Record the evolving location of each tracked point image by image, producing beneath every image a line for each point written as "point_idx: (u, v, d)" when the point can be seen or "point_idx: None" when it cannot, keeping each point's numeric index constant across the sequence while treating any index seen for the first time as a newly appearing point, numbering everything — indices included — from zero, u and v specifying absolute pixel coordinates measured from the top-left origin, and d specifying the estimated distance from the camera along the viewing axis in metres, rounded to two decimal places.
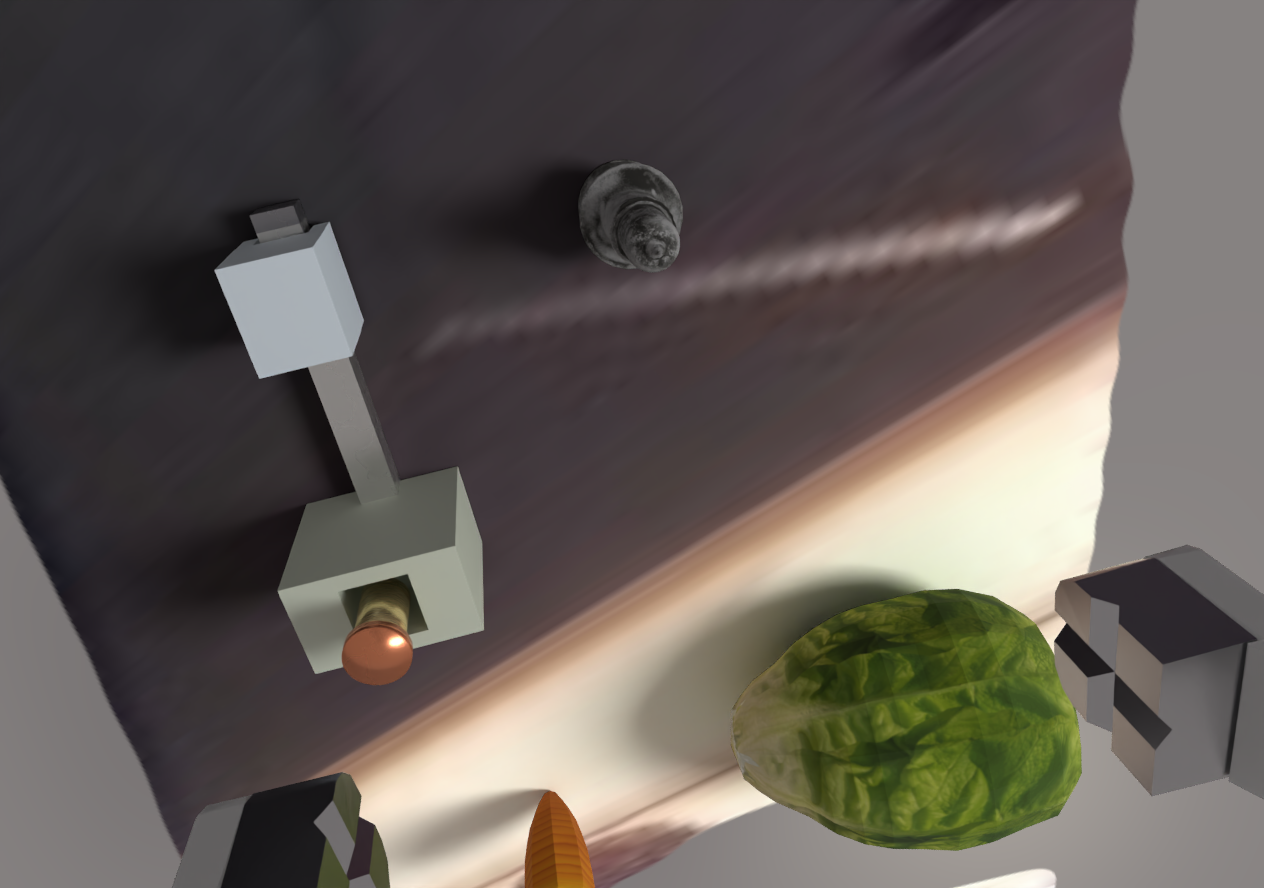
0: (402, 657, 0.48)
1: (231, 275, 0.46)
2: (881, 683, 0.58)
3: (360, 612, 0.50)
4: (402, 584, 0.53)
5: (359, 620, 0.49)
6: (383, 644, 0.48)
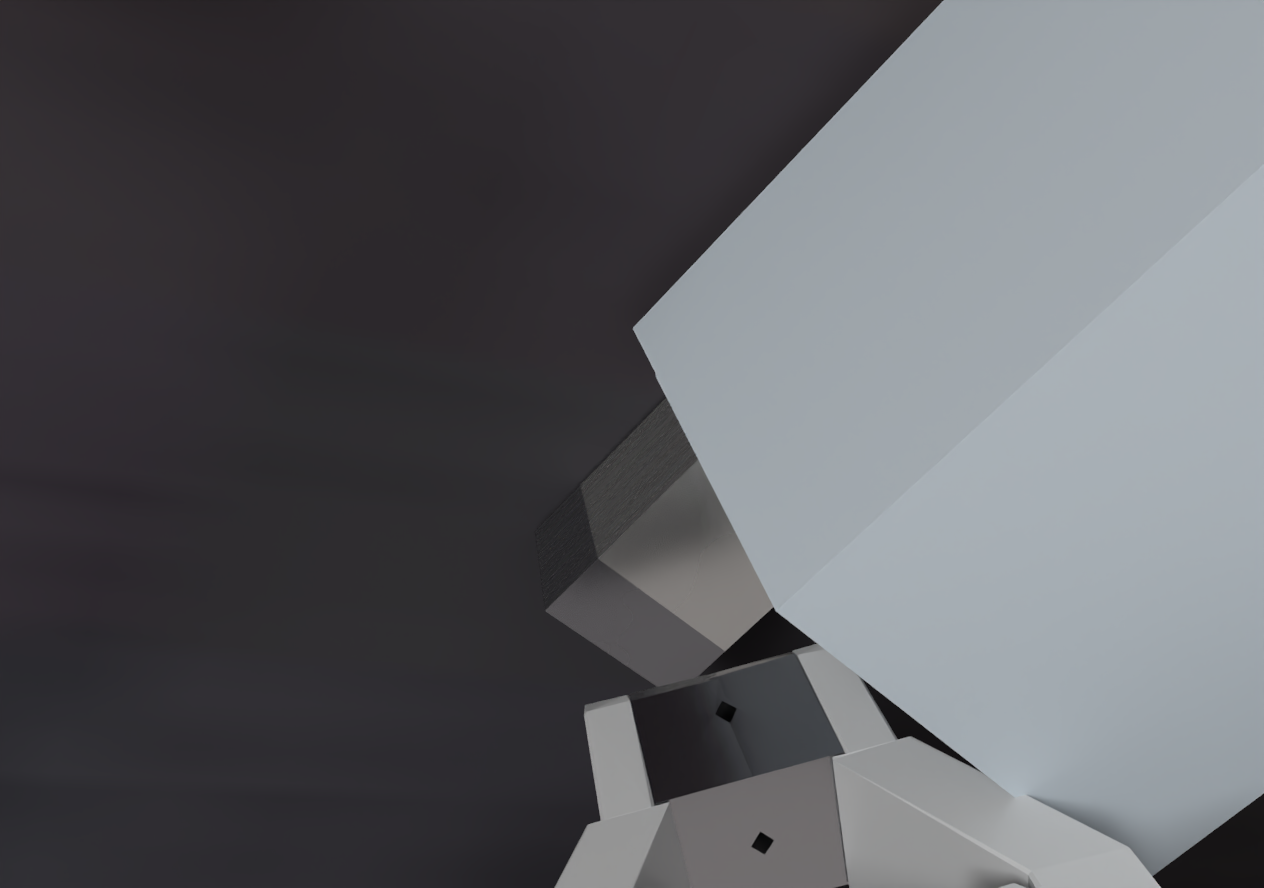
0: None
1: (1135, 828, 0.08)
2: None
3: None
4: None
5: None
6: None
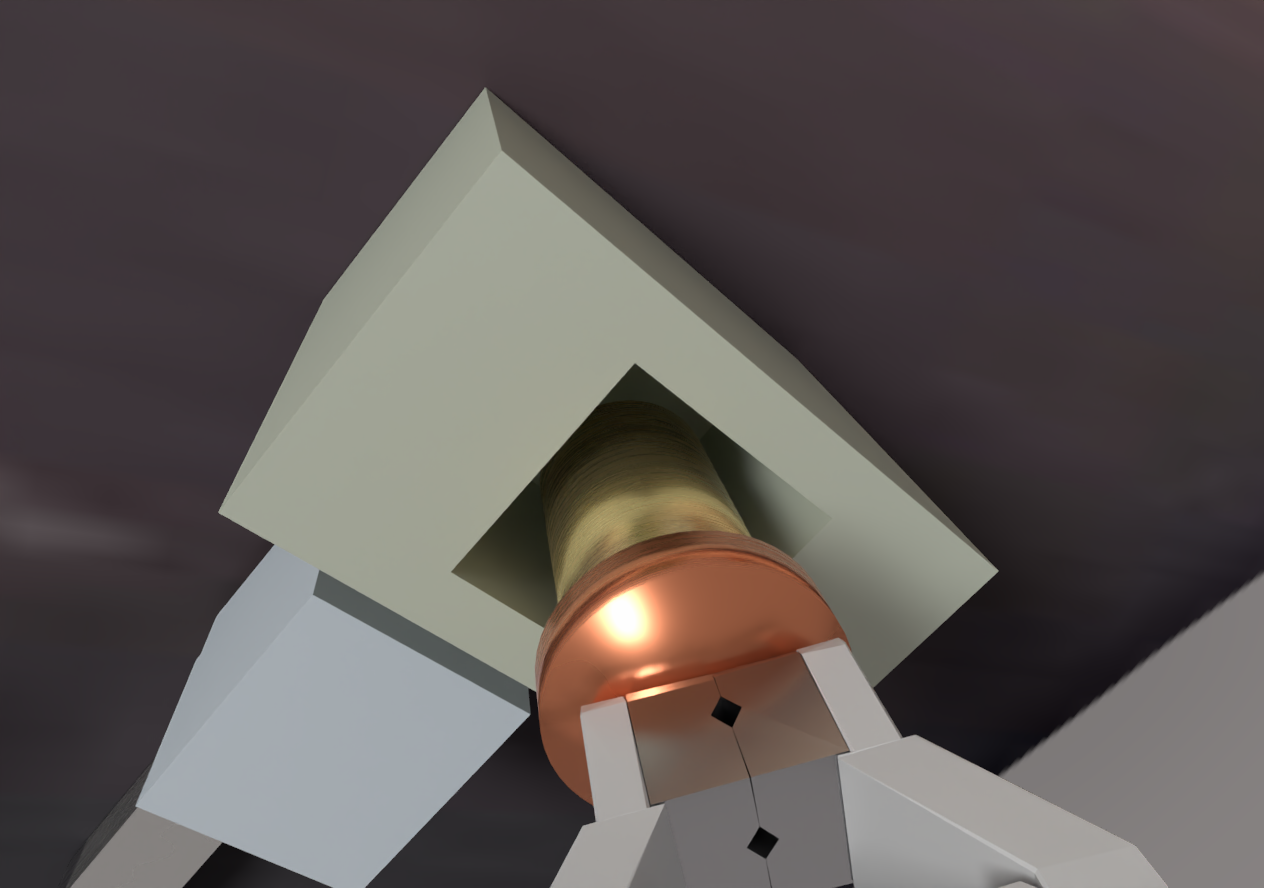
0: (641, 630, 0.10)
1: (340, 872, 0.19)
2: None
3: None
4: (542, 473, 0.15)
5: None
6: None
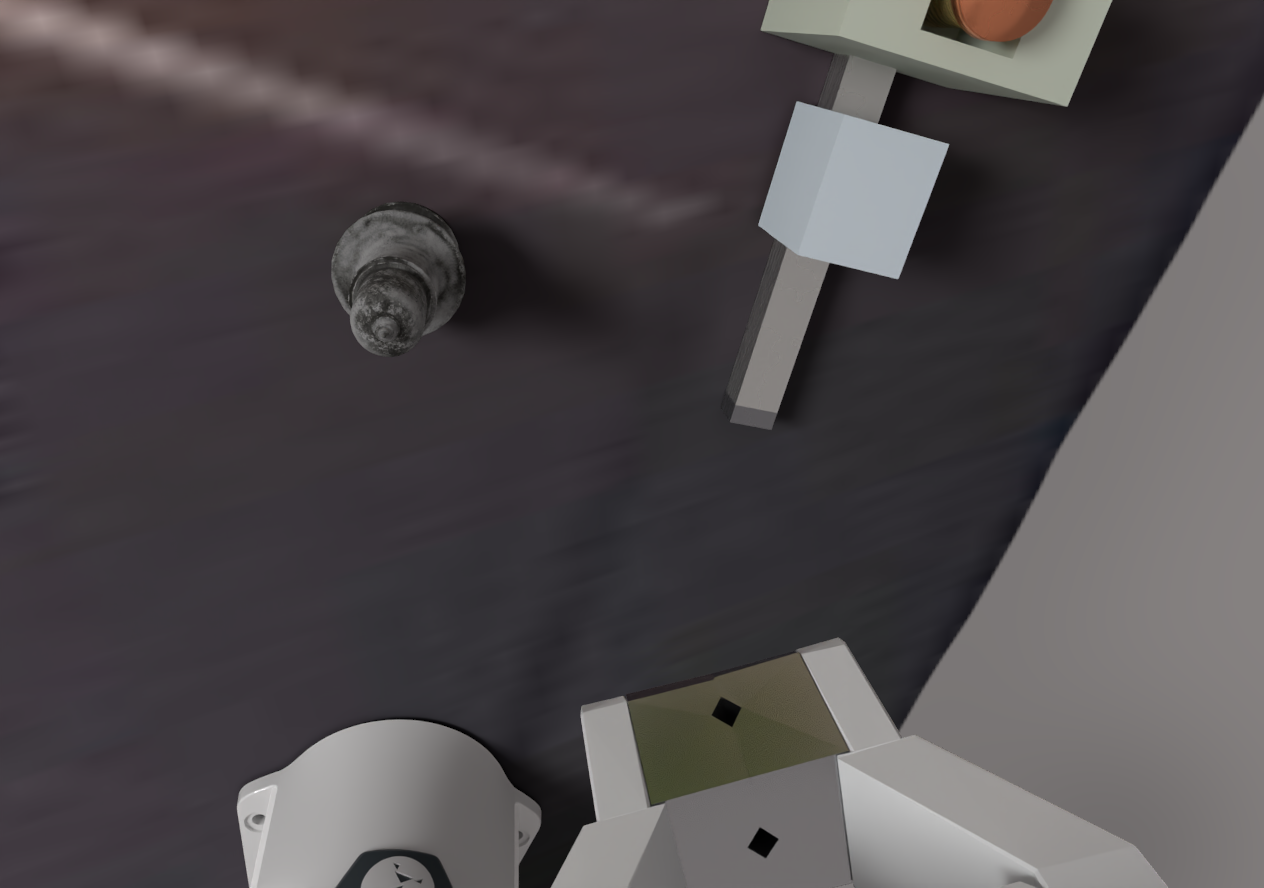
0: None
1: (888, 266, 0.41)
2: None
3: None
4: None
5: None
6: (987, 3, 0.32)
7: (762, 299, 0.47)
